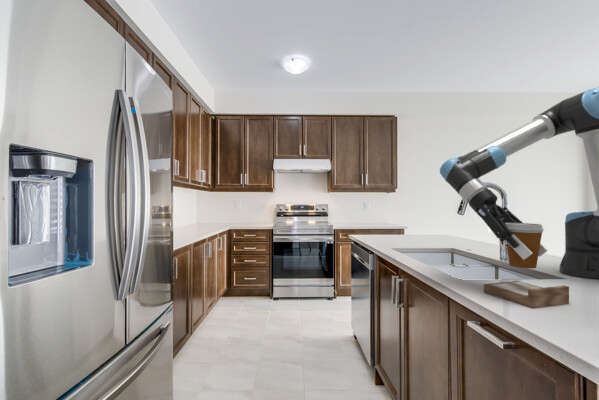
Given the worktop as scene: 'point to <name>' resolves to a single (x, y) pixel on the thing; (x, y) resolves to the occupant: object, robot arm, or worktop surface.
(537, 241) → the disposable coffee cup
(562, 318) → the worktop surface
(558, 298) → the dock board
